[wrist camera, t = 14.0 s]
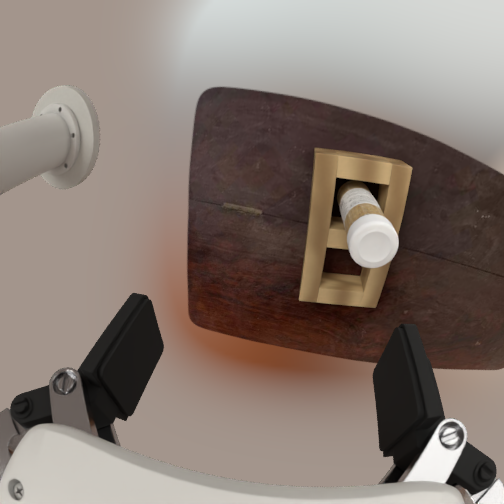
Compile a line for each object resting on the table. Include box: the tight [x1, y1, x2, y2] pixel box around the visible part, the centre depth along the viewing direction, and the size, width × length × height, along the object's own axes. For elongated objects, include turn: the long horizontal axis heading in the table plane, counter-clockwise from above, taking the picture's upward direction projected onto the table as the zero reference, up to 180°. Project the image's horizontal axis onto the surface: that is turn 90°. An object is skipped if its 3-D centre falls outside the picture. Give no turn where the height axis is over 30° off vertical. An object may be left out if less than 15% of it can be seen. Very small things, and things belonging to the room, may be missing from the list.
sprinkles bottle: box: [337, 180, 399, 268], centre depth 28 cm, size 5×5×13 cm
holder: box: [299, 148, 412, 308], centre depth 34 cm, size 11×20×4 cm, turn 179°
